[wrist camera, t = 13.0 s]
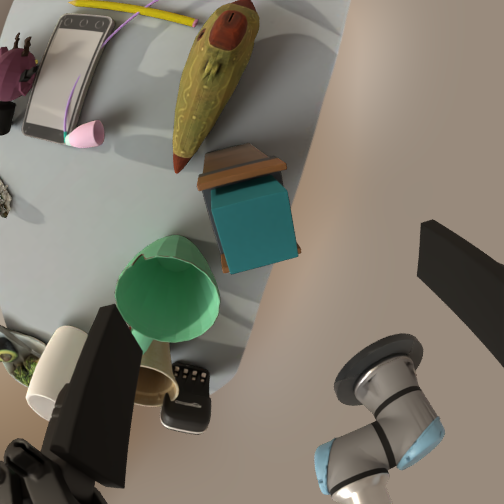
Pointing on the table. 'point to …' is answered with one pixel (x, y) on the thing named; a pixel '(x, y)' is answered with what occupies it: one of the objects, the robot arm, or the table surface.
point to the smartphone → (65, 75)
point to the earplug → (94, 130)
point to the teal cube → (254, 223)
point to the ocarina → (212, 75)
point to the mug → (168, 293)
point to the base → (232, 177)
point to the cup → (55, 369)
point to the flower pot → (156, 376)
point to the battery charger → (188, 401)
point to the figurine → (14, 79)
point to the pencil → (136, 10)
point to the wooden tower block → (231, 157)
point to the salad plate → (20, 354)
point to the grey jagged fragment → (2, 191)
